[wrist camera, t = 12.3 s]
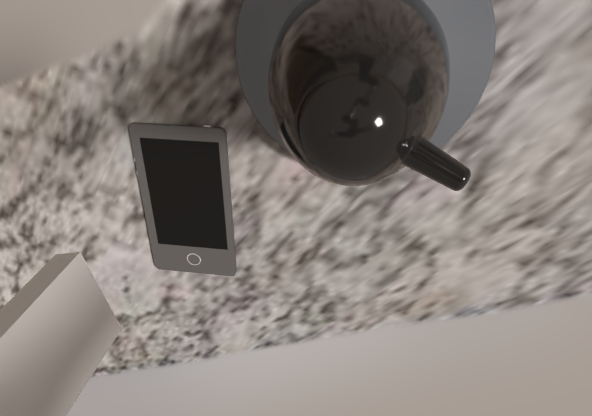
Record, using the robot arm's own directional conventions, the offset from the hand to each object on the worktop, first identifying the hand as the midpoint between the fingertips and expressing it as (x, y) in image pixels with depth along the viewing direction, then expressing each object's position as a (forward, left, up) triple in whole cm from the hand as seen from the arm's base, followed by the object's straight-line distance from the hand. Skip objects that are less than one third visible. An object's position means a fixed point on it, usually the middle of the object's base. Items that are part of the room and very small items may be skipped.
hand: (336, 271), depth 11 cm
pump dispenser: (0, 0, -23) cm, 23 cm away
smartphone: (+17, +10, -26) cm, 33 cm away
